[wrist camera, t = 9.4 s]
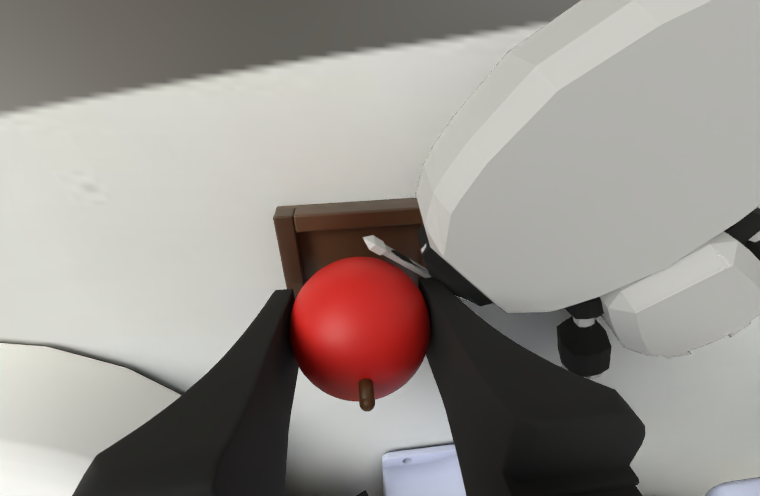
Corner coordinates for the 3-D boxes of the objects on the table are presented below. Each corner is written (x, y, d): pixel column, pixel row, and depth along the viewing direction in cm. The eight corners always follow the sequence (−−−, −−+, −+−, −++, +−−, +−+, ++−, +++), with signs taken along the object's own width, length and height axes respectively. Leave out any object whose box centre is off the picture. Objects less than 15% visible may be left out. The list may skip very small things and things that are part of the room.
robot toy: (796, 212, 15) (706, -169, 8) (932, 284, 12) (976, -285, 5) (542, 343, 20) (349, 174, 13) (582, 422, 16) (346, 248, 9)
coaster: (299, 330, 16) (297, 345, 15) (276, 206, 13) (272, 217, 12) (430, 318, 17) (435, 332, 16) (437, 196, 14) (444, 205, 13)
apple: (304, 333, 15) (289, 469, 10) (288, 236, 12) (258, 354, 8) (413, 324, 15) (447, 450, 10) (417, 228, 13) (465, 336, 8)
